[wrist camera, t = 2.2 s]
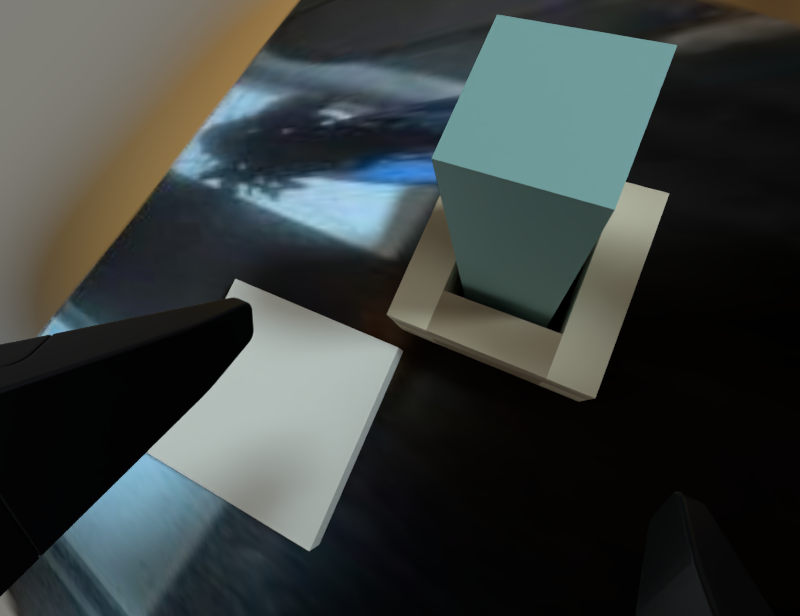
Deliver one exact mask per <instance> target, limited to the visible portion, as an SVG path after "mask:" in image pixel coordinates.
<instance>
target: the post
mask: <svg viewBox="0 0 800 616" xmlns="http://www.w3.org/2000/svg"><path fill="white" fill-rule="evenodd" d="M676 47H677V45H673V44H667V43H661V42H655V41H649V40H643V39H637V38H631V37H626V36H620V35H614V34H608V33H602V32H596V31H590V30H585V29H579V28H573V27H567V26H561V25H555V24H549V23H543V22H538V21H532V20H526V19H520V18H514V17H508V16H502V15H497V16H496V18H495V21H494V23H493V25H492V27H491V29H490V32H489V34H488V36H487V38H486V40H485V43H484V45H483V47H482V49H481V51H480V54H479V56H478V58H477V60H476V62H475V64H474V67H473V69H472V71H471V73H470V75H469V78H468V80H467V82H466V84H465V86H464V89H463V91H462V93H461V95H460V97H459V100H458V102H457V104H456V106H455V108H454V111H453V113H452V115H451V117H450V119H449V122H448V124H447V126H446V128H445V130H444V132H443V135H442V137H441V139H440V141H439V143H438V146H437V148H436V150H435V152H434V154H433V157H432V162H433V166H434V171H435V175H436V179H437V183H438V187H439V191H440V196H441V200H442V204H443V208H444V212H445V216H446V220H447V225H448V229H449V233H450V237H451V241H452V245H453V250H454V254H455V258H456V262H457V266H458V270H459V275H460V279H461V283H462V287H463V291H464V295H465V298H466V299H468V300H471V301H474V302H476V303H479V304H482V305H485V306H487V307H490V308H493V309H495V310H498V311H501V312H504V313H506V314H509V315H512V316H514V317H517V318H520V319H522V320H525V321H528V322H531V323H533V324H536V325H539V326H541V327H544V328H546V327H547V326H548V324H549V322H550V320H551V319H552V317H553V315H554V314H555V312H556V310H557V308H558V307H559V305H560V303H561V302H562V300H563V298H564V296H565V295H566V293H567V291H568V290H569V288H570V286H571V284H572V283H573V281H574V279H575V277H576V276H577V274H578V272H579V271H580V269H581V267H582V265H583V264H584V262H585V260H586V259H587V257H588V255H589V253H590V252H591V250H592V248H593V247H594V245H595V243H596V241H597V240H598V238H599V236H600V235H601V233H602V231H603V229H604V228H605V226H606V224H607V222H608V221H609V219H610V217H611V216H612V214H613V212H614V210H615V208H616V205H617V203H618V200H619V198H620V195H621V192H622V190H623V187H624V184H625V182H626V179H627V176H628V174H629V171H630V169H631V166H632V163H633V161H634V158H635V155H636V153H637V150H638V147H639V145H640V142H641V140H642V137H643V134H644V132H645V129H646V126H647V124H648V121H649V118H650V116H651V113H652V111H653V108H654V105H655V103H656V100H657V97H658V95H659V92H660V89H661V87H662V84H663V82H664V79H665V76H666V74H667V71H668V68H669V66H670V63H671V60H672V58H673V55H674V52H675V50H676Z"/></svg>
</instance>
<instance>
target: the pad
mask: <svg viewBox="0 0 800 616" xmlns="http://www.w3.org/2000/svg"><path fill="white" fill-rule="evenodd" d="M232 297H235V298H239V299H241V300H243V301H246V302H248V303H249V304H250V305H251V307H252V313H253V327H254V333H253V336H252V339H251V341H250V342H249V343H248V345H247V346H246V347H245V348H244V349H243V351H242V352H241V353H240V354H239V355H238V357H237V358H236V359H235V360H234V361H233V363H232V364H231V365H230V366H229V367H228V369H227V370H226V371H225V372H224V373H223V375H222V376H221V377H220V378H219V379H218V381H217V382H216V383H215V384H214V385H213V386H212V387H211V389H210V390H209V391H208V392H207V393H206V394H205V395H204V396H203V397H202V398H201V399H200V400H199V401H198V402H197V403H196V404H195V405H194V406H193V407H192V408H191V409H190V410H189V411H188V412H187V413H186V414H185V415H184V416H183V417H182V418H181V419H180V420H179V421H178V422H177V423H176V424H175V425H174V426H173V427H172V428H171V429H170V430H169V431H168V432H167V433H166V434H165V435H164V436H163V437H161V438H160V439H159V440H158V441H157V442H156V443H155V444H154V445H153V446H152V447H151V448H150V449H149V450H148V452H147V453H148V454H150V455H152V456H153V457H155V458H157V459H158V460H160V461H162V462H163V463H165V464H166V465H168V466H170V467H171V468H173V469H175V470H176V471H178V472H180V473H181V474H183V475H185V476H186V477H188V478H189V479H191V480H193V481H194V482H196V483H198V484H199V485H201V486H203V487H204V488H206V489H208V490H209V491H211V492H212V493H214V494H216V495H217V496H219V497H221V498H222V499H224V500H226V501H227V502H229V503H231V504H232V505H234V506H235V507H237V508H239V509H240V510H242V511H244V512H245V513H247V514H249V515H250V516H252V517H254V518H255V519H257V520H258V521H260V522H262V523H263V524H265V525H267V526H268V527H270V528H272V529H273V530H275V531H277V532H278V533H280V534H281V535H283V536H285V537H286V538H288V539H290V540H291V541H293V542H295V543H296V544H298V545H300V546H301V547H303V548H304V549H306V550H308V551H311V550H312V549H314V548H315V547H316V546H318V545H319V544H320V542H321V540H322V537H323V535H324V533H325V530H326V528H327V526H328V523H329V521H330V519H331V517H332V514H333V512H334V510H335V507H336V505H337V503H338V500H339V498H340V496H341V494H342V491H343V489H344V487H345V484H346V482H347V480H348V477H349V475H350V473H351V471H352V468H353V466H354V464H355V461H356V459H357V457H358V454H359V452H360V450H361V448H362V445H363V443H364V441H365V438H366V436H367V434H368V432H369V429H370V427H371V425H372V422H373V420H374V418H375V415H376V413H377V411H378V409H379V406H380V404H381V402H382V399H383V397H384V395H385V392H386V390H387V388H388V386H389V383H390V381H391V379H392V376H393V374H394V372H395V369H396V367H397V365H398V363H399V360H400V358H401V356H402V353H403V351H402V350H401V349H400V348H398V347H396V346H393V345H391V344H389V343H386V342H384V341H382V340H379V339H377V338H375V337H372V336H370V335H367V334H365V333H363V332H360V331H358V330H356V329H353V328H351V327H349V326H346V325H344V324H341V323H339V322H337V321H334V320H332V319H330V318H327V317H325V316H322V315H320V314H318V313H315V312H313V311H311V310H308V309H306V308H304V307H301V306H299V305H296V304H294V303H292V302H289V301H287V300H285V299H282V298H280V297H278V296H275V295H273V294H270V293H268V292H266V291H263V290H261V289H259V288H256V287H254V286H251V285H249V284H247V283H244V282H242V281H240V280H237V279H235V281H234V283H233V285H232V286H231V288H230V290H229V292H228V294H227V296H226V298H225V299H227V298H232Z"/></svg>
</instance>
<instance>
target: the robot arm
mask: <svg viewBox="0 0 800 616" xmlns="http://www.w3.org/2000/svg"><path fill="white" fill-rule="evenodd" d="M253 333H254V327H253V313H252V307H251V305H250V304H249V303H248V302H246V301H243V300H241V299H239V298H235V297H232V298H227V299H222V300H217V301H212V302H208V303H203V304H198V305H193V306H188V307H183V308H178V309H173V310H169V311H164V312H159V313H154V314H149V315H144V316H139V317H134V318H129V319H125V320H120V321H115V322H110V323H105V324H100V325H95V326H90V327H85V328H81V329H76V330H71V331H66V332H61V333H56V334H53V335H52V336H51V335H46V336H41V337H36V338H32V339H27V340H22V341H16V342H12V343H6V344H1V345H0V596H1V595H2V594H3V593H4V592H5V591H6V590H7V589H8V588H9V587H10V586H11V585H13V584H14V583H15V582H16V581H17V580H18V579H19V578H20V577H21V576H22V575H23V574H24V573H25V572H26V571H27V570H28V569H29V568H30V567H31V566H32V565H33V564H34V563H35V562H36V561H37V560H38V559H39V558H40V556H41V555H43V554H44V553H45V552H46V551H47V550H48V549H49V548H50V547H51V546H52V545H53V544H54V543H55V542H56V541H57V540H58V539H59V538H60V537H61V536H62V535H63V534H64V533H65V532H66V531H67V530H68V529H69V528H70V527H71V526H72V525H73V524H74V523H75V522H76V521H77V520H78V519H79V518H80V517H81V516H82V515H83V514H84V513H85V512H86V511H87V510H88V509H89V508H90V507H91V506H92V505H93V504H94V503H95V502H96V501H97V500H99V499H100V498H101V497H102V496H103V495H104V494H105V493H106V492H107V491H108V490H109V489H110V488H111V487H112V486H113V485H114V484H115V483H116V482H117V481H118V480H119V479H120V478H121V477H122V476H123V475H124V474H125V473H126V472H127V471H128V470H129V469H130V468H131V467H132V466H133V465H134V464H135V463H136V462H137V461H138V460H139V459H140V458H141V457H142V456H143V455H144V454H145V453H146V452H147V451H148V450H149V449H150V448H151V447H152V446H153V445H154V444H155V443H156V442H157V441H158V440H159V439H160V438H161V437H163V436H164V435H165V434H166V433H167V432H168V431H169V430H170V429H171V428H172V427H173V426H174V425H175V424H176V423H177V422H178V421H179V420H180V419H181V418H182V417H183V416H184V415H185V414H186V413H187V412H188V411H189V410H190V409H191V408H192V407H193V406H194V405H195V404H196V403H197V402H198V401H199V400H200V399H201V398H202V397H203V396H204V395H205V394H206V393H207V392H208V391H209V390H210V389H211V387H212V386H213V385H214V384H215V383H216V382H217V381H218V379H219V378H220V377H221V376H222V375H223V373H224V372H225V371H226V370H227V369H228V367H229V366H230V365H231V364H232V363H233V361H234V360H235V359H236V358H237V357H238V355H239V354H240V353H241V352H242V351H243V349H244V348H245V347H246V346H247V345H248V343H249V342H250V341H251V339H252V336H253ZM635 616H775V615H774V614H773V612H772V611H771V609H770V607H769V606H768V604H767V603H766V601H765V599H764V598H763V596H762V595H761V593H760V591H759V590H758V588H757V586H756V585H755V583H754V582H753V580H752V578H751V577H750V575H749V574H748V572H747V570H746V569H745V567H744V566H743V564H742V562H741V561H740V559H739V557H738V556H737V554H736V553H735V551H734V549H733V548H732V546H731V545H730V543H729V541H728V540H727V538H726V537H725V535H724V533H723V532H722V530H721V529H720V527H719V525H718V524H717V522H716V520H715V519H714V517H713V516H712V514H711V512H710V511H709V509H708V508H707V506H706V505H705V504H704V503H703V502H702V501H700V500H698V499H696V498H693V497H691V496H689V495H687V494H684V493H682V492H674V493H673V494H672V495H670V497H669V498H668V499H667V500H666V501H665V502H664V503H663V505H662V506H661V507H660V508H659V509H658V510H657V511H656V513H655V514H654V515H653V516H652V518H651V520H650V523H649V526H648V531H647V538H646V545H645V551H644V558H643V565H642V571H641V578H640V585H639V591H638V598H637V606H636V614H635Z"/></svg>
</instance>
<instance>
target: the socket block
mask: <svg viewBox="0 0 800 616" xmlns="http://www.w3.org/2000/svg"><path fill="white" fill-rule="evenodd" d="M668 196H669V193H666V192H662V191H658V190H654V189H650V188H646V187H643V186H639V185H635V184H631V183H627V182H625V184H624V187H623V190H622V192H621V195H620V198H619V200H618V203H617V205H616V208H615V210H614V212H613V214H612V216H611V217H610V219H609V221H608V222H607V224H606V226H605V228H604V229H603V231H602V233H601V235H600V236H599V238H598V240H597V241H596V243H595V245H594V247H593V248H592V250H591V252H590V253H589V255H588V257H587V259H586V260H585V263H584V265H583V268H582V271H581V273H580V276H579V278H578V281H577V284H576V286H575V289H574V292H573V294H572V297H571V299H570V302H569V305H568V307H567V310H566V312H565V315H564V318H563V320H562V323H561V325H560V328H559V331H558V332H555V331H552V330H550V329H547V328H544V327H541V326H539V325H536V324H533V323H531V322H528V321H525V320H522V319H520V318H517V317H514V316H512V315H509V314H506V313H504V312H501V311H498V310H495V309H493V308H490V307H487V306H485V305H482V304H479V303H476V302H474V301H471V300H468V299H466V298H463V297H460V296H457V293H458V291H459V289H460V286H461V284H462V283H461V279H460V275H459V270H458V266H457V262H456V258H455V254H454V250H453V245H452V241H451V237H450V233H449V229H448V225H447V220H446V216H445V212H444V208H443V204H442V200H441V196H439V198H438V200H437V203H436V205H435V207H434V209H433V212H432V214H431V216H430V218H429V221H428V223H427V225H426V227H425V230H424V232H423V234H422V236H421V239H420V241H419V243H418V245H417V248H416V250H415V252H414V254H413V256H412V259H411V261H410V263H409V265H408V268H407V270H406V272H405V274H404V277H403V279H402V281H401V283H400V286H399V288H398V290H397V292H396V295H395V297H394V299H393V301H392V303H391V306H390V308H389V310H388V312H387V315H388V316H389V317H390V318H391V319H392V320H393V321H394V322H395V323H396V324H397V325H398V326H399V327H400V328H401V329H402V330H404V331H407V332H409V333H412V334H414V335H417V336H419V337H422V338H424V339H426V340H429V341H431V342H434V343H436V344H439V345H441V346H444V347H446V348H448V349H451V350H453V351H456V352H458V353H461V354H463V355H466V356H468V357H470V358H473V359H475V360H478V361H480V362H483V363H485V364H488V365H490V366H493V367H495V368H497V369H500V370H502V371H505V372H507V373H510V374H512V375H515V376H517V377H519V378H522V379H524V380H527V381H529V382H532V383H534V384H537V385H539V386H541V387H544V388H546V389H549V390H551V391H554V392H556V393H559V394H561V395H564V396H566V397H568V398H571V399H573V400H576V401H578V402H579V401H584V400H589V399H595V398H596V395H597V393H598V390H599V387H600V384H601V381H602V379H603V376H604V373H605V370H606V368H607V365H608V362H609V359H610V357H611V354H612V351H613V348H614V345H615V343H616V340H617V337H618V334H619V332H620V329H621V326H622V323H623V320H624V318H625V315H626V312H627V309H628V307H629V304H630V301H631V298H632V296H633V293H634V290H635V287H636V284H637V282H638V279H639V276H640V273H641V271H642V268H643V265H644V262H645V260H646V257H647V254H648V251H649V248H650V246H651V243H652V240H653V237H654V235H655V232H656V229H657V226H658V224H659V221H660V218H661V215H662V212H663V210H664V207H665V204H666V201H667V199H668Z"/></svg>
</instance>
